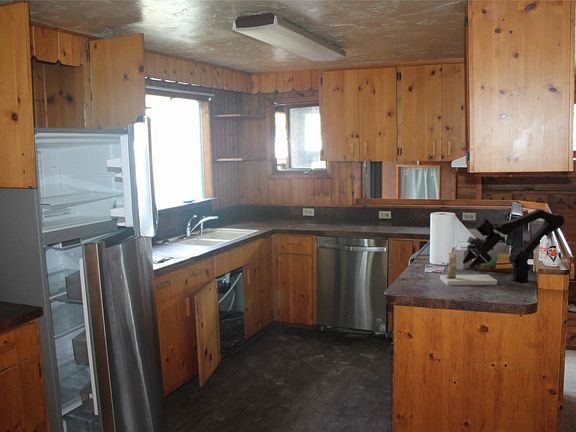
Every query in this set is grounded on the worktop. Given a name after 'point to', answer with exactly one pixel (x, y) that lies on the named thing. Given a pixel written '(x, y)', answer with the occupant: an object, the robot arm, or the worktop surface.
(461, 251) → the light bulb box
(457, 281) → the board
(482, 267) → the food container
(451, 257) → the peg
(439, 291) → the worktop surface
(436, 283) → the worktop surface
